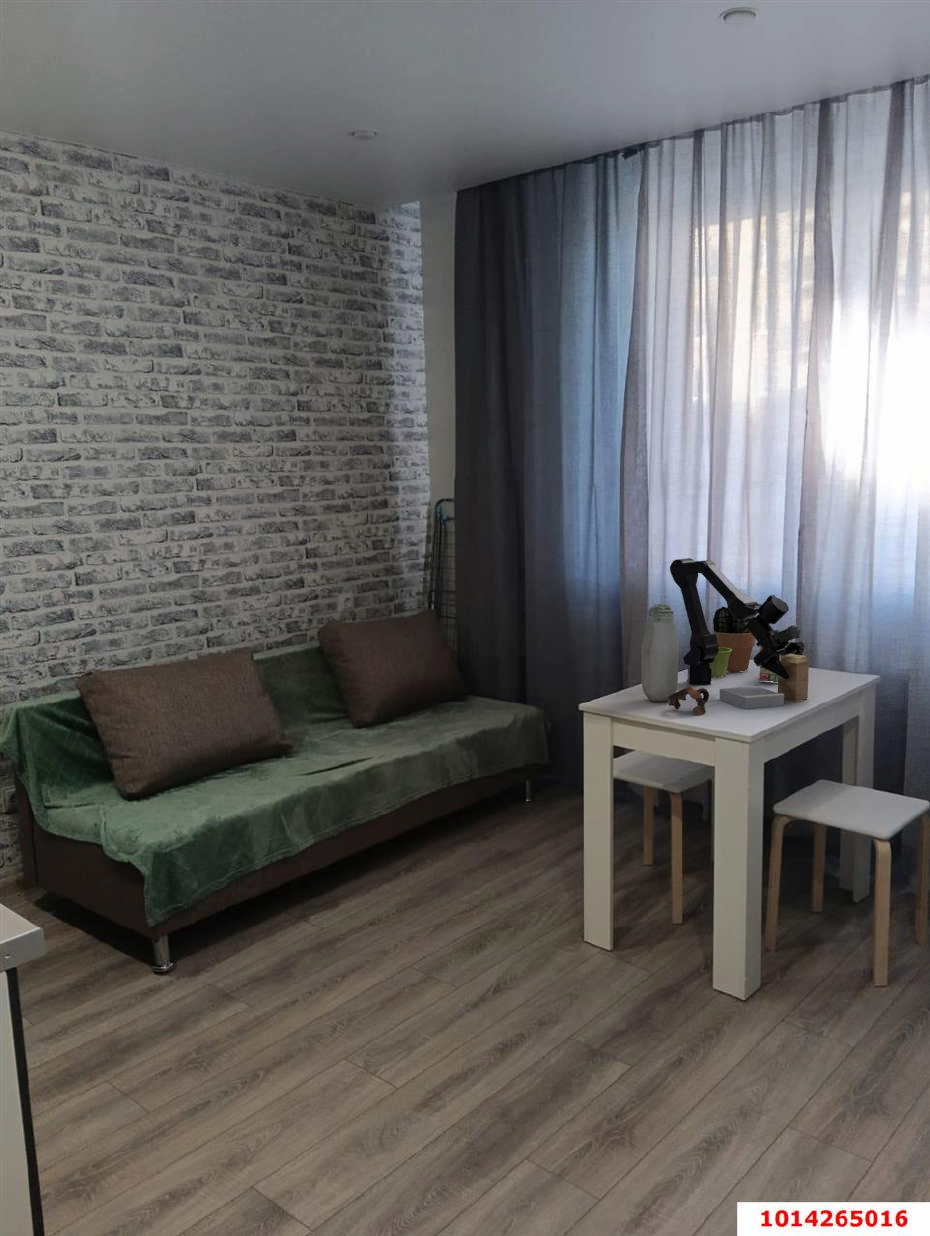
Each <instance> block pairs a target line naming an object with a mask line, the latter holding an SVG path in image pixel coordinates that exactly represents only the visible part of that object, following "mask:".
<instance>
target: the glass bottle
mask: <svg viewBox="0 0 930 1236" xmlns="http://www.w3.org/2000/svg"><path fill="white" fill-rule="evenodd" d="M646 615H647V618H646V619H647V620H646V625H645V630H644V634H643V637H642V642H641V648H640V649H641V653H640V656H641V657H640V658H641V687H642V691H643V693H644V696H645V697H646V698H647V699H648V700H650V701H654V702H659V703H660V702H665V701H669V699H668V697H669V696H670V695H672V694H674V693H676V692H677V690H678V684H679V660H680V659H679V658H680V657H679V654H680V653H679V652H680V648H679V647H680V646H679V641H678V635H677V631H676V626H675V613H674V610H673V607H671V605H669V604H667V603H658V604H657V603H656V604H654V605H652V606H651V607H649V609H648V611H647V614H646Z"/></svg>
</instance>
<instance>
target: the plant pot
mask: <svg viewBox="0 0 930 1236" xmlns="http://www.w3.org/2000/svg"><path fill="white" fill-rule="evenodd" d="M731 651H732V649H730V648H725V647H718V653H717V655H716V656H715V658H714V661H713V663H709V664H710V668H711V669H712V677H714V678H722V677H721V676H724V677H725V675H726V676H727V673H728V672H727V666H728V660H729V656H730V652H731Z"/></svg>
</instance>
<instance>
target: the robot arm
mask: <svg viewBox="0 0 930 1236" xmlns="http://www.w3.org/2000/svg"><path fill="white" fill-rule="evenodd" d="M669 572H670V574H671V577H672V579H673V581H674V583H675V584H676V585H677V586H678V587H679V588H680V592H681V595H682V600H683V604H684V607H685V612H686V616H687V619H688V625H689V628H690V632H691V635H690V639H689V651H688V652H687V653H686V654H685V655H684V656H683V658H682V660H683V662H684V663H683V664H684V665H687V679H686V682H687V684H689V686H696V685H697V686H698V685H702V686H703V685H706V686H707V685H709V686H710V685H712V681H713V680H712V677H713V676H712V669H711V668H710V664H709V663H713V661H714V658H715V656H716V655H717V653H718V646H719V644H718V642H717V636H716V634H713V633H711V632H710V630H709V629H708V627H707V623H706V622H707V621H706V618H705V613H704V610H703V607H702V602H701V598H700V595H699V594H700V593H699V590H698V586H697V584H698V579H699V574H701V575H702V576H703V577H704V578H705V580H707V581H708V583H710V585H711V586H712V587H713V588H714V589H715V590H716V591H717V593H719V594H720V596H722V598H723V599H724V600H725V602H726V605H727V607H728V609H729V610H730V612H731V613H732V615H733V616H734V618H736V619H739V620H743V619H748V618H751V619H750V620H749V621H748V622H746V623H742V629H741V632H748V631H750V632H751V634H752V635H753V636H754V638H755V641H757V642H755V645H756V646H757V648H758V647H759V648H760V646H761V647H762V648H763V649H762V650H761V651H760V650H759V651H758V652H757V653H756V655H755V656H753V663H754V664H755V665H756V666H757V667H759V668H760V666H761V668H764V669H767V670H769V671H771V672H773V673H775V674H777V675H779V676H781V677H783V678H784V679H786V680H787V679H789V675H788V673H787V672H786V670H785V669H784V667H783V665H782V664H781V662H780V660H779V656H784V655H789V654H794V655H802V656H803V653H804V651H805V648H806V645H805V644H804V643H803V641H801V640H797V641H796V640H795V641H793V640H794V639H799V638H800V634H801V629H799V627H798V626H796V625H795V624H793V625H790V626H788V627H787V628H785V629H783V630H778V629H776V630H775V629H774V628H773V626H771V625H776V624H777V623H778V622H779V621H780V620H781V619H782V618H783V617H784V616H785V615H786V614H787V613H788V612H789V610H790V608H789V605H788V604H787V603H786V601H783V600H782V599H780V598H779V597H777V596H775V594H769V596H768V597H767V598H766V599H765V601H764V602H763V603H762V604H761V603H758V602H757V601H756V600H755V599H754V598H752V597H751V596H749V594H746V593H744V592H742V591H741V590H739V589H738V588H737V587H736V586H735V585H734V584H733V583H732V582H731V580H730V579H729V578H728V577H727V576H726V575H725V574H724V573H723V572H722V571H721V570H720V568H719V567H718V566H717V565H716V563H715V562H714V561H713V560H711V559H707V560H698V561H697V560H695V559H693V558H690V557H689V558H687V557H686V558H679V559H678V558H677V559H674V560H672V561H671V564H670V566H669ZM790 640H792V642H791V643H790V642H789V641H790ZM789 643H790V644H789ZM788 644H789V645H788ZM786 645H788V646H787V647H785V646H786Z"/></svg>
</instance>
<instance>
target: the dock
mask: <svg viewBox="0 0 930 1236" xmlns="http://www.w3.org/2000/svg"><path fill="white" fill-rule="evenodd" d="M719 700H721V701H724V702H726V703H729V704H731V705H734V706H737V707H740V708H742V709H745V710H750V709H761V708H763V709H764V708H771V707H773V708H774V707H783V706H784V705H785V704H784V703H785V700H784V694H782V693H780V694H779V693H778V692H776V691H774V690H773V691H772V690H770V689H768V688H763V687H761V686H758V685H752V686H751V685H750V686H739V687H737V686H736V687H728V688H727V687H726V688H719Z"/></svg>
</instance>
